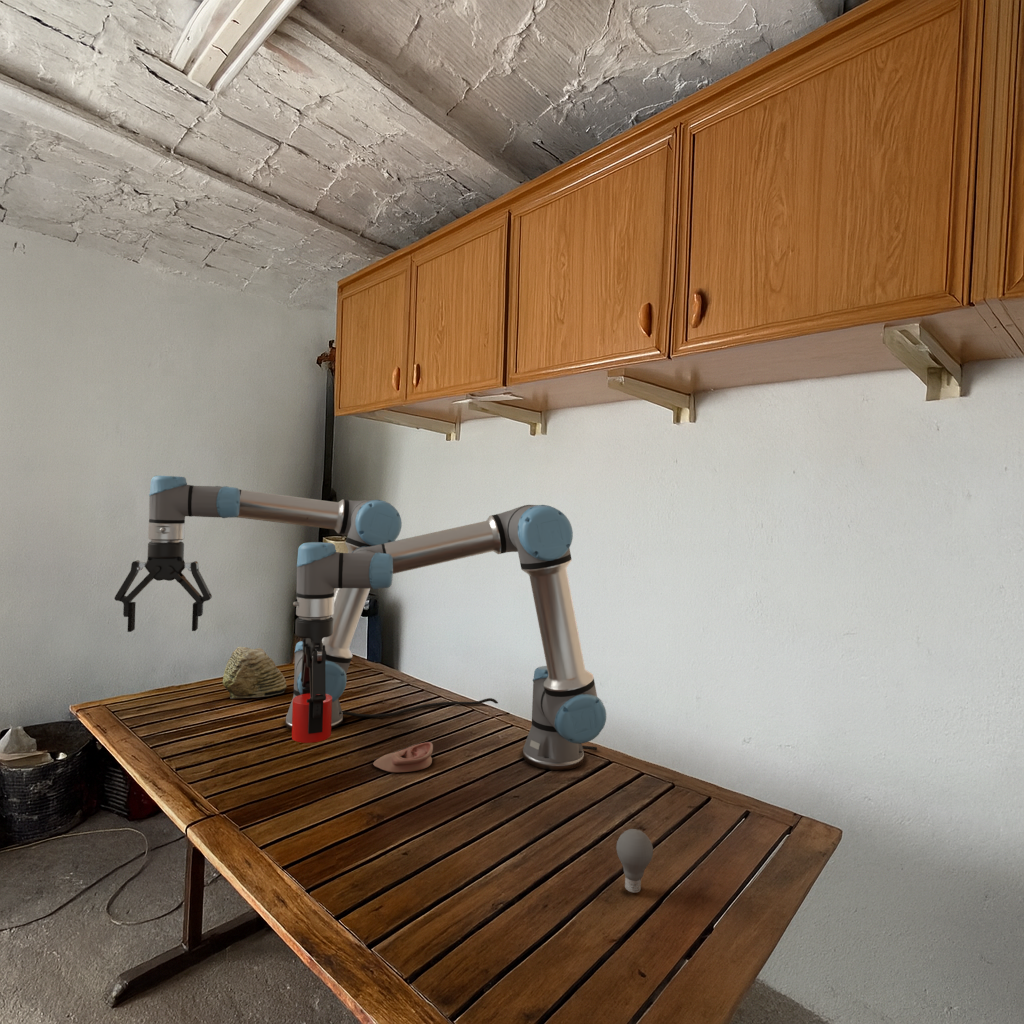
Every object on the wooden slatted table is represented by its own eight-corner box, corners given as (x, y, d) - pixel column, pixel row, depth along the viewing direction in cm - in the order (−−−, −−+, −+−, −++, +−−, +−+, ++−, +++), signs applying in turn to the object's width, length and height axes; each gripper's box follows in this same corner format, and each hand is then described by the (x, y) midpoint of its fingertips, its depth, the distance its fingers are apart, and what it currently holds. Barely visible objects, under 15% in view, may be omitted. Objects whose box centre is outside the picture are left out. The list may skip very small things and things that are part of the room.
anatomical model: (368, 752, 148) (387, 734, 159) (367, 769, 148) (386, 750, 159) (422, 759, 145) (438, 741, 156) (421, 776, 145) (437, 757, 156)
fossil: (218, 695, 195) (220, 647, 195) (278, 685, 208) (279, 640, 207) (228, 703, 189) (230, 653, 188) (289, 692, 201) (290, 645, 201)
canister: (331, 741, 130) (332, 703, 130) (290, 744, 127) (291, 705, 127) (330, 727, 137) (331, 691, 137) (292, 730, 135) (293, 693, 135)
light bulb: (610, 879, 108) (613, 822, 108) (644, 879, 109) (647, 822, 109) (619, 902, 102) (622, 840, 102) (655, 901, 103) (658, 840, 103)
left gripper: (100, 540, 143) (97, 634, 143) (220, 543, 150) (217, 632, 150) (112, 538, 150) (109, 627, 150) (226, 541, 157) (223, 626, 157)
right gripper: (289, 609, 139) (286, 711, 140) (303, 627, 121) (300, 745, 121) (324, 607, 143) (321, 707, 143) (343, 625, 124) (340, 740, 125)
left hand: (163, 630), depth 150 cm, fingers open, 13 cm apart
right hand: (311, 725), depth 132 cm, fingers closed on canister, 8 cm apart
